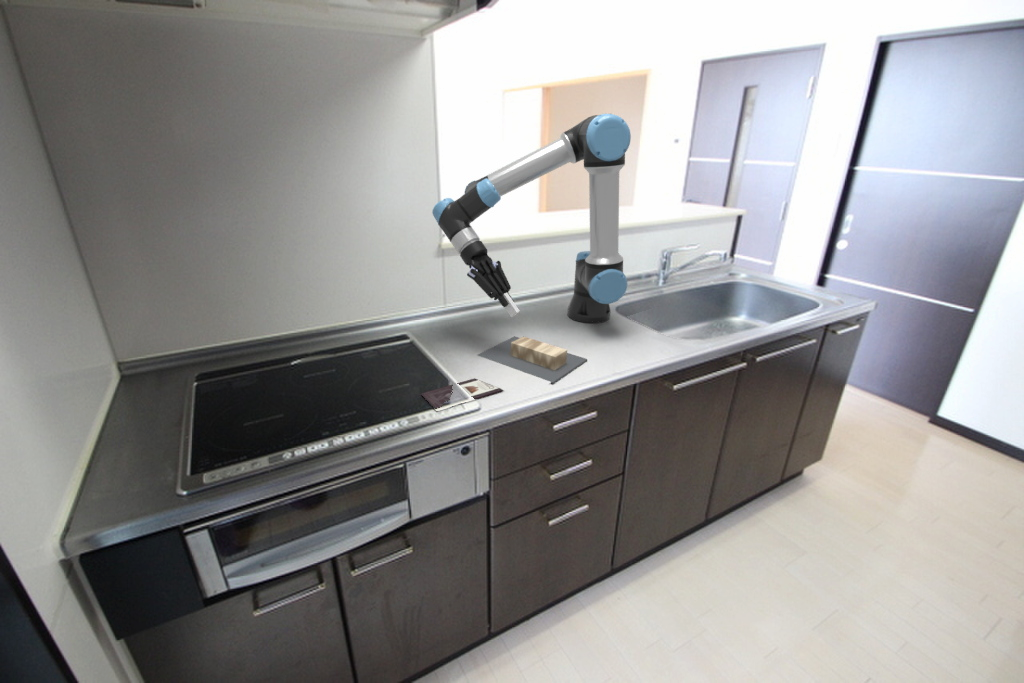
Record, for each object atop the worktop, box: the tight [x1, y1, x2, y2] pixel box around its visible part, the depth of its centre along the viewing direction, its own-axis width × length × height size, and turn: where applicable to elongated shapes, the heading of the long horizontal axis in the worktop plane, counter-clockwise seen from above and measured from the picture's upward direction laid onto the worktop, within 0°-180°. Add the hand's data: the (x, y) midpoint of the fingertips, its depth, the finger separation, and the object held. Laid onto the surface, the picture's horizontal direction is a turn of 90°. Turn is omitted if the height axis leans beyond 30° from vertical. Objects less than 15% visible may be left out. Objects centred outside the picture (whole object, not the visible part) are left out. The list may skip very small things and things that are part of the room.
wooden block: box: [511, 335, 568, 370], centre depth 134 cm, size 4×6×15 cm
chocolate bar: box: [420, 377, 504, 409], centre depth 118 cm, size 9×1×18 cm
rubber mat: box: [477, 336, 588, 385], centre depth 137 cm, size 26×18×1 cm
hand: (515, 314), depth 135 cm, fingers closed
